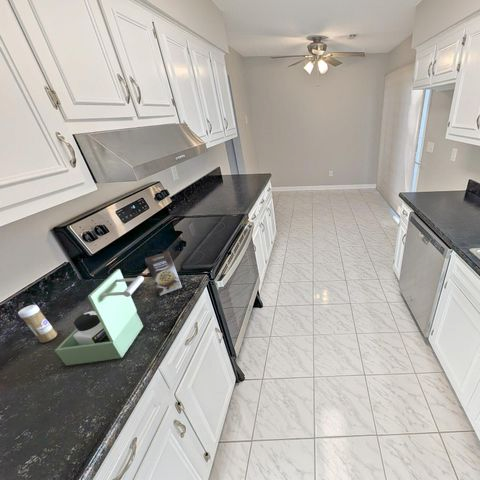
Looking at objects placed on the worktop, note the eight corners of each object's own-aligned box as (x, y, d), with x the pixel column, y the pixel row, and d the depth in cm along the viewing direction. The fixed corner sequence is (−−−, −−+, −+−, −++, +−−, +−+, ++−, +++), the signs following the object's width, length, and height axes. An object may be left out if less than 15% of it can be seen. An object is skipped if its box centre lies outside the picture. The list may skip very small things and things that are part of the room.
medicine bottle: (101, 353, 81) (83, 325, 76) (83, 351, 82) (63, 324, 77) (120, 335, 87) (104, 309, 82) (102, 334, 89) (86, 307, 83)
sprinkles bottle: (54, 339, 89) (32, 310, 83) (37, 345, 87) (14, 315, 81) (59, 331, 93) (39, 302, 87) (43, 335, 91) (21, 307, 85)
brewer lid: (87, 296, 69) (122, 294, 70) (117, 269, 81) (146, 267, 82) (110, 341, 77) (141, 339, 78) (134, 310, 89) (161, 309, 90)
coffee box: (159, 296, 107) (145, 264, 100) (157, 289, 112) (144, 257, 105) (182, 287, 112) (170, 256, 104) (180, 281, 117) (168, 250, 109)
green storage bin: (66, 365, 79) (54, 350, 76) (95, 332, 91) (86, 318, 88) (122, 358, 80) (112, 342, 77) (143, 326, 92) (136, 311, 89)
